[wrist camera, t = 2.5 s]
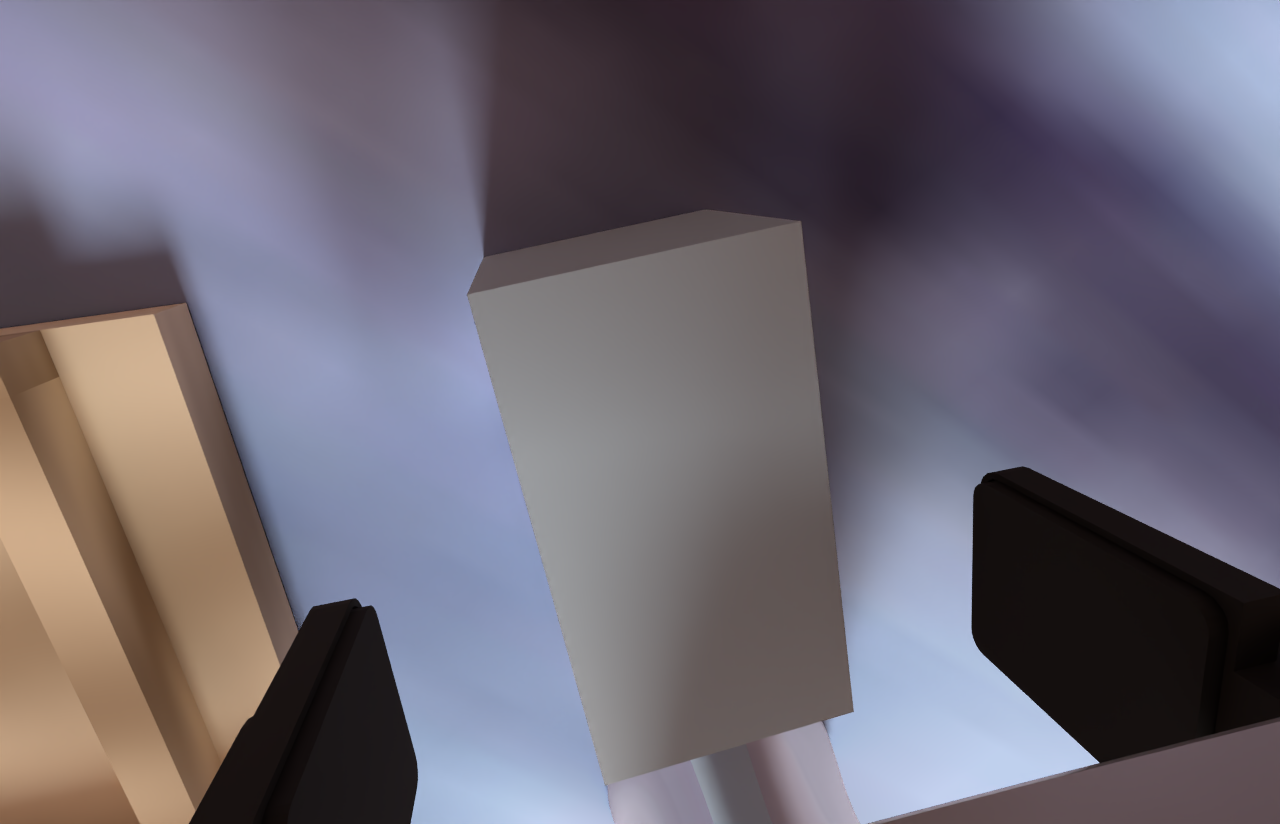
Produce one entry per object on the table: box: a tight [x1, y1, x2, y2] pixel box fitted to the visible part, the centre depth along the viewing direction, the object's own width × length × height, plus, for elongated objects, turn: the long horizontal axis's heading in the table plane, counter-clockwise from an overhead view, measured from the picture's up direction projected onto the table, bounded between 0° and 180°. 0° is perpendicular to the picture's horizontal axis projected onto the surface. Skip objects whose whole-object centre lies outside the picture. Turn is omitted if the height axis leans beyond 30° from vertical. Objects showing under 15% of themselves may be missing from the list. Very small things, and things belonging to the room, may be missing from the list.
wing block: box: [467, 209, 854, 785], centre depth 13 cm, size 8×4×5 cm, turn 11°
